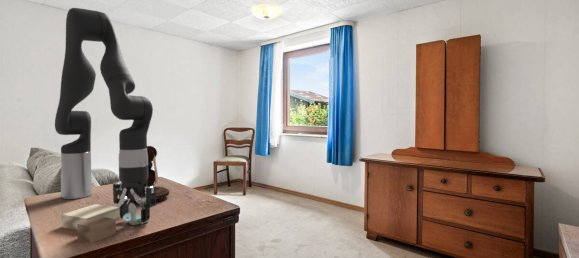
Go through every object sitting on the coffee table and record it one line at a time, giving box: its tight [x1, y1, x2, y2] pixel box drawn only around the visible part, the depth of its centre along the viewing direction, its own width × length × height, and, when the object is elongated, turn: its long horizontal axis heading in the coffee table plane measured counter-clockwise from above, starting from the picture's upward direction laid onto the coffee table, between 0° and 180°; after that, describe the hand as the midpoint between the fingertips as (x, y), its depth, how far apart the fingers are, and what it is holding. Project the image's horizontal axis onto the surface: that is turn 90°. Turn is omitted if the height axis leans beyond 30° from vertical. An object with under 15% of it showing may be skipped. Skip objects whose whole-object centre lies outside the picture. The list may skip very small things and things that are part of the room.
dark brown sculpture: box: [129, 145, 170, 204], centre depth 106 cm, size 15×15×20 cm
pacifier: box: [122, 202, 150, 226], centre depth 83 cm, size 7×6×6 cm
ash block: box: [61, 203, 121, 230], centre depth 83 cm, size 10×10×4 cm
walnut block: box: [77, 216, 117, 243], centre depth 74 cm, size 6×6×4 cm
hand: (134, 219), depth 83 cm, fingers closed on pacifier, 7 cm apart
